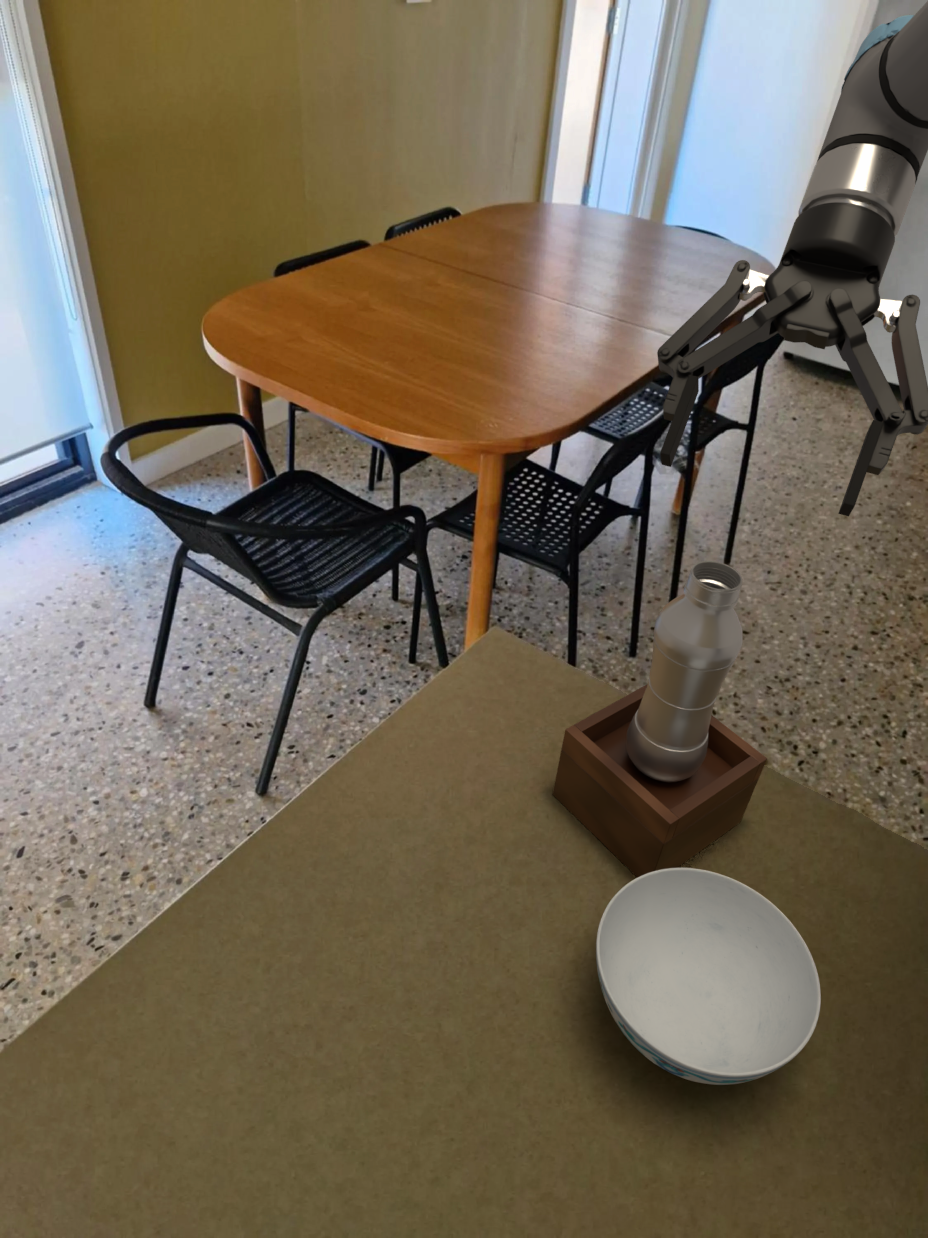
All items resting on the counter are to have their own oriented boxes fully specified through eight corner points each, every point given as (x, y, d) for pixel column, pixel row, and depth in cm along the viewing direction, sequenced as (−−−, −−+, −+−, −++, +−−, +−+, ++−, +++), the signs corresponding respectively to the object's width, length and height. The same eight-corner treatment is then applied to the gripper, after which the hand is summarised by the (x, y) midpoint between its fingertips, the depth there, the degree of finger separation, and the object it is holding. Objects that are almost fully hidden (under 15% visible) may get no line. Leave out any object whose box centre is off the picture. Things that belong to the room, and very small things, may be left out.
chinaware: (593, 1126, 59) (614, 1074, 54) (569, 922, 70) (584, 864, 65) (814, 1128, 60) (854, 1077, 55) (754, 927, 71) (782, 869, 66)
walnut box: (740, 822, 79) (767, 758, 74) (648, 889, 73) (670, 824, 68) (643, 739, 86) (661, 675, 81) (552, 794, 80) (565, 729, 75)
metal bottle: (683, 805, 73) (749, 616, 60) (608, 769, 75) (656, 580, 63) (709, 756, 77) (776, 570, 64) (637, 724, 80) (688, 539, 67)
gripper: (1005, 287, 68) (916, 545, 66) (687, 225, 75) (601, 456, 74) (1041, 230, 61) (941, 518, 59) (685, 168, 68) (590, 423, 67)
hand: (752, 484), depth 67 cm, fingers open, 13 cm apart
